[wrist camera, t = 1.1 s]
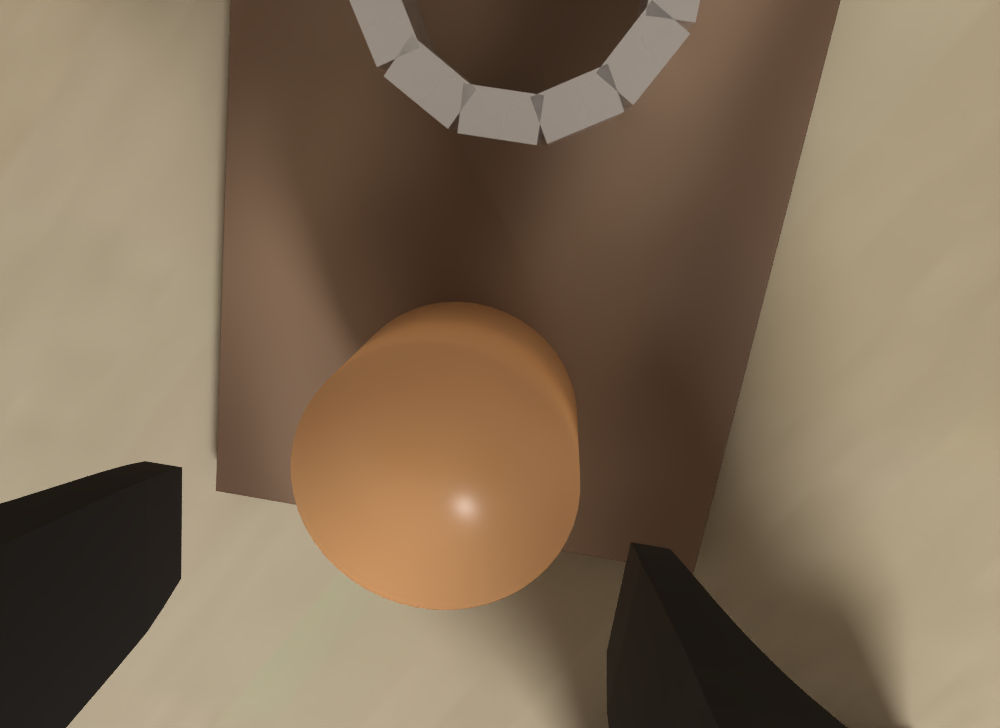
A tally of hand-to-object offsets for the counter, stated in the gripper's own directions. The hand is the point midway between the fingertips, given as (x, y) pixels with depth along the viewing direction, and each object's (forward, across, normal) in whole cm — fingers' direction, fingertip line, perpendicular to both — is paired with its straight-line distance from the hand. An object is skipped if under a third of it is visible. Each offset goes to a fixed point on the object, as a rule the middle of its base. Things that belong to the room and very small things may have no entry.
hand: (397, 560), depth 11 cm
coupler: (+9, 0, 0) cm, 9 cm away
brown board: (+9, 0, -6) cm, 11 cm away
